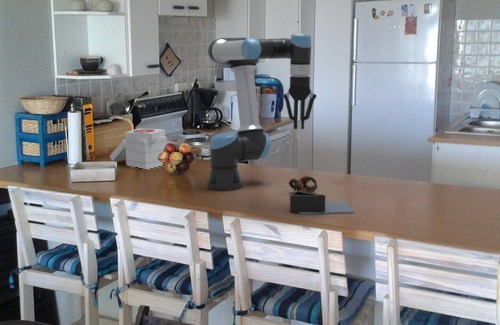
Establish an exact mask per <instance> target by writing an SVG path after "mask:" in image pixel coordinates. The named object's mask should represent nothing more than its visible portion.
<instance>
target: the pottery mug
mask: <svg viewBox="0 0 500 325" xmlns="http://www.w3.org/2000/svg"><path fill="white" fill-rule="evenodd" d="M308 182H312V183H313V185H312V186H311V185H308ZM288 185H289V186H290V188H291V189H293V191H294V192H297V191H303V192H308V193H314V192H315V191H316V190H317V188H318V184H317V180H316V179H315V178H314V177H312V176H309V175H304V176H301V177H300V178H299V179H296V178H290V180H289V181H288Z"/></svg>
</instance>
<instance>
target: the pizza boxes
mask: <svg viewBox="0 0 500 325" xmlns="http://www.w3.org/2000/svg"><path fill="white" fill-rule="evenodd" d="M124 136H125V137H124V139H123V140H122V141H120V143H119V144H117V146H116V148H115V149H114V150H113V151H112V152H111V153H110V155H109V158H110V160H111V162H114V161H120V160H125V163H126V164H125V165H128V166H133V167H138V168H143V169H142V170H144V169H148V170H151V169H150V168H153V169H155V168H154V167H157V168H159V167H158V166H162V165H163V163H162V162H160V161H159V160H158V156H159V154H160V153H162V152H163V151H164V148H165V146H166V144H167V145H168V137H167V136H166V129H165V128H164V129H163V128H161V129H160V128H135V129H132V130H129V131H125V132H124ZM133 167H132V168H133ZM162 167H163V166H162ZM138 168H137V169H138Z"/></svg>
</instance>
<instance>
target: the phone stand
mask: <svg viewBox="0 0 500 325" xmlns="http://www.w3.org/2000/svg"><path fill="white" fill-rule="evenodd" d="M325 201H326V195H324V194H316V193H314V192H312V193H308V192H303V191H302V190H300V191H297V190H296V191H294V193H292V194H290V196H289V212H292V213H293V212H294V213H295V212H296V213H299V212H320V213H323V212H325Z"/></svg>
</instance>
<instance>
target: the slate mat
mask: <svg viewBox="0 0 500 325" xmlns="http://www.w3.org/2000/svg"><path fill="white" fill-rule="evenodd" d="M298 213H299V215H322V214H323V215H328V214H329V215H330V214H332V215H334V214H355V211H354V210H353V209H352V208H351V206H349V204H348V203H347V202H346V201H345V200H328V201H327V200H325V212H323V213H320V212H298Z"/></svg>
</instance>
